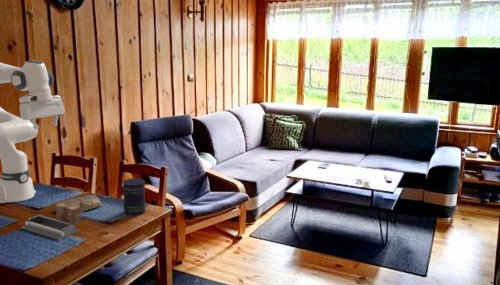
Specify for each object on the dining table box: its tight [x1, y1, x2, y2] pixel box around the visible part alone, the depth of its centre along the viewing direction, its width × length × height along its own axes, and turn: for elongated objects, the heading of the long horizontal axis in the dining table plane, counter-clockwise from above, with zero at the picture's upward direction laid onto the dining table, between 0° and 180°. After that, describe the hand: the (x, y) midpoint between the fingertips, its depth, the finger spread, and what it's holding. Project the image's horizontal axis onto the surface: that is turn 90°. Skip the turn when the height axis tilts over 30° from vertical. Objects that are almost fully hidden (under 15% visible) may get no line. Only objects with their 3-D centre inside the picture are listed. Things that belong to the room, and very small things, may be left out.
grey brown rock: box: [57, 194, 102, 212], centre depth 193 cm, size 14×5×20 cm
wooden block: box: [54, 202, 82, 226], centre depth 177 cm, size 12×4×7 cm, turn 64°
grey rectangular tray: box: [21, 214, 80, 241], centre depth 168 cm, size 22×10×3 cm, turn 64°
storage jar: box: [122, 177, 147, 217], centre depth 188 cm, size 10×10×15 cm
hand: (46, 127), depth 185 cm, fingers open, 8 cm apart
